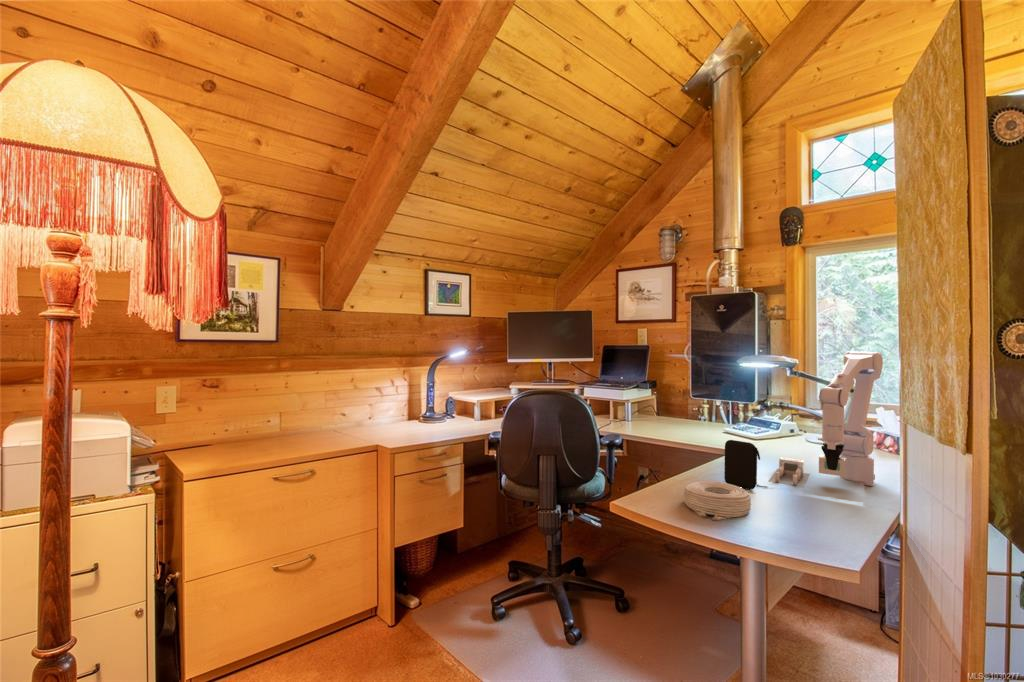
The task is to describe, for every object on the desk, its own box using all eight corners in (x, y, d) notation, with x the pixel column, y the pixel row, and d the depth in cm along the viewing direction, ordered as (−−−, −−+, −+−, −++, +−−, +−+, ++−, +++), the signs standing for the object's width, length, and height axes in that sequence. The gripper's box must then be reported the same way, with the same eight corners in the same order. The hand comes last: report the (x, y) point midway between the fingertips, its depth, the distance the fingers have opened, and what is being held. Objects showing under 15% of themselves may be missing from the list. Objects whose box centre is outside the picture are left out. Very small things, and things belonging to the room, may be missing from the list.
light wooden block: (846, 473, 152) (846, 458, 152) (845, 476, 149) (845, 460, 149) (819, 470, 156) (819, 454, 156) (818, 472, 153) (818, 457, 153)
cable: (709, 523, 123) (709, 500, 123) (669, 501, 140) (670, 480, 140) (765, 517, 128) (765, 494, 128) (720, 496, 145) (720, 476, 145)
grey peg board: (810, 476, 166) (810, 465, 166) (803, 490, 150) (804, 477, 150) (777, 471, 172) (777, 460, 172) (768, 484, 156) (768, 472, 156)
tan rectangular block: (804, 474, 165) (804, 460, 165) (802, 477, 161) (803, 462, 161) (780, 471, 169) (781, 456, 169) (779, 473, 165) (779, 459, 165)
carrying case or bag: (761, 490, 150) (761, 443, 150) (757, 493, 147) (758, 445, 147) (726, 483, 157) (727, 438, 157) (722, 485, 155) (723, 439, 155)
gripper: (819, 420, 160) (819, 461, 160) (816, 427, 149) (815, 470, 149) (845, 423, 156) (845, 464, 156) (843, 429, 145) (843, 475, 145)
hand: (832, 468), depth 152 cm, fingers closed on light wooden block, 4 cm apart
